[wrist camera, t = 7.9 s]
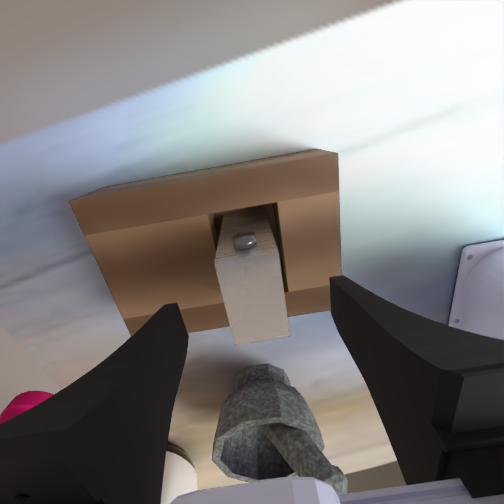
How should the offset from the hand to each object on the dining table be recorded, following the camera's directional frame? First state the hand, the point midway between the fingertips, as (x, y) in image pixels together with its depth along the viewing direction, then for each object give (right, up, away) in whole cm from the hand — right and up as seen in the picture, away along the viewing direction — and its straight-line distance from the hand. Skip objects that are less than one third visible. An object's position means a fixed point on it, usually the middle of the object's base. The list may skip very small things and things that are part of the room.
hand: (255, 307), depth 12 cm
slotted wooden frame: (-2, +4, +9) cm, 10 cm away
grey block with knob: (0, +3, +8) cm, 9 cm away
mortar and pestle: (+1, -12, +17) cm, 20 cm away
